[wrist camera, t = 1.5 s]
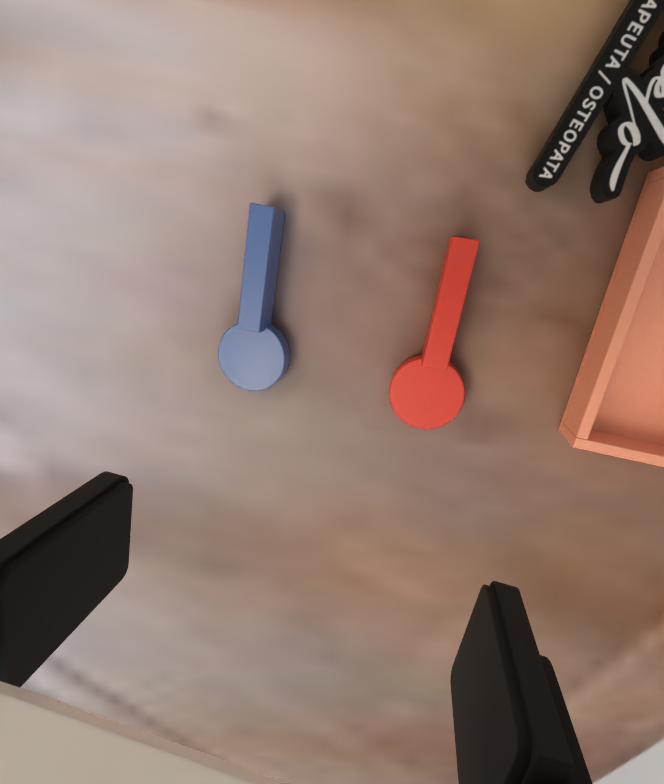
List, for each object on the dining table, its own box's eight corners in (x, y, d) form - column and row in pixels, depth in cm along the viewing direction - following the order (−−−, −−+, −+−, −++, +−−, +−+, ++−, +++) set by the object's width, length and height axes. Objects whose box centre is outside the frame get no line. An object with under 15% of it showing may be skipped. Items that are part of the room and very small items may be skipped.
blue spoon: (239, 203, 26) (223, 198, 24) (310, 215, 26) (300, 211, 24) (222, 378, 29) (208, 387, 27) (285, 392, 29) (275, 402, 27)
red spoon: (422, 234, 25) (423, 231, 23) (502, 247, 24) (510, 245, 22) (383, 414, 28) (381, 426, 26) (452, 429, 27) (455, 442, 25)
